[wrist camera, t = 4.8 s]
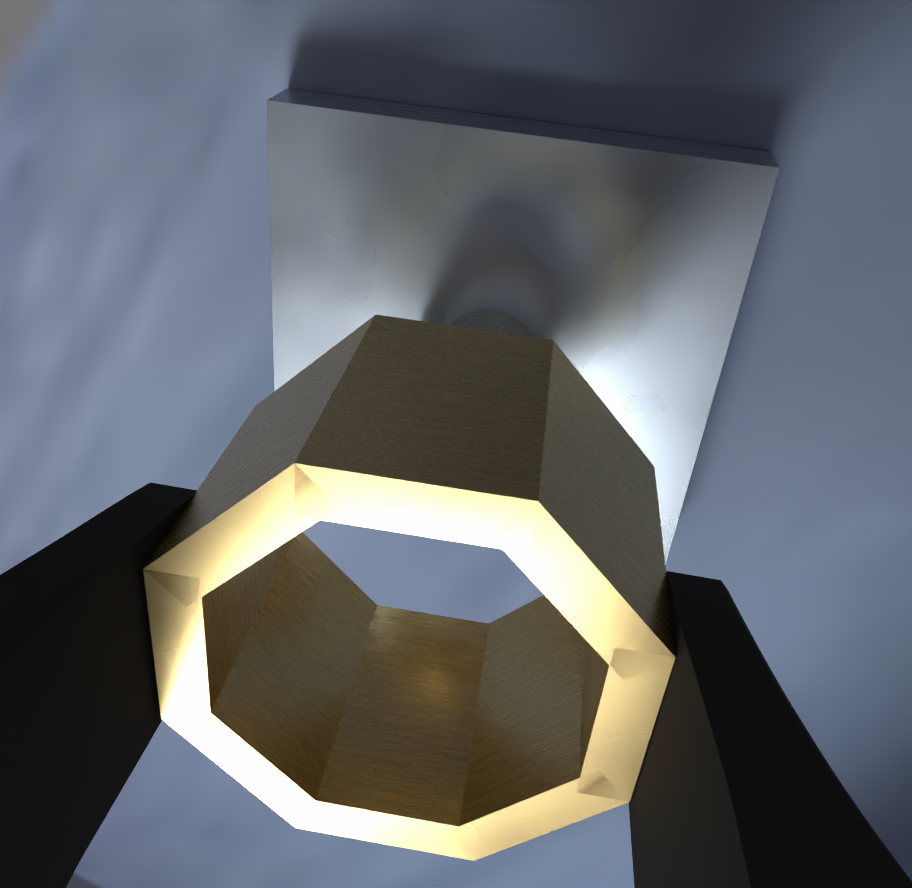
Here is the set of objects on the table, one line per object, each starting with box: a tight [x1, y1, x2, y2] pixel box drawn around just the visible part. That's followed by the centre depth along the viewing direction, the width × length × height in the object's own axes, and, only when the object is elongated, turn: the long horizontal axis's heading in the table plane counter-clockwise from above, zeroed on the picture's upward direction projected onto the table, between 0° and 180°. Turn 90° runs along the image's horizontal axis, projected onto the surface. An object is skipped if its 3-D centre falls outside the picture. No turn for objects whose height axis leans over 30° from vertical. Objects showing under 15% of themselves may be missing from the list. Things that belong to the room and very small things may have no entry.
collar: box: [143, 315, 675, 861], centre depth 11 cm, size 5×5×4 cm
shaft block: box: [267, 89, 780, 564], centre depth 15 cm, size 8×8×4 cm
